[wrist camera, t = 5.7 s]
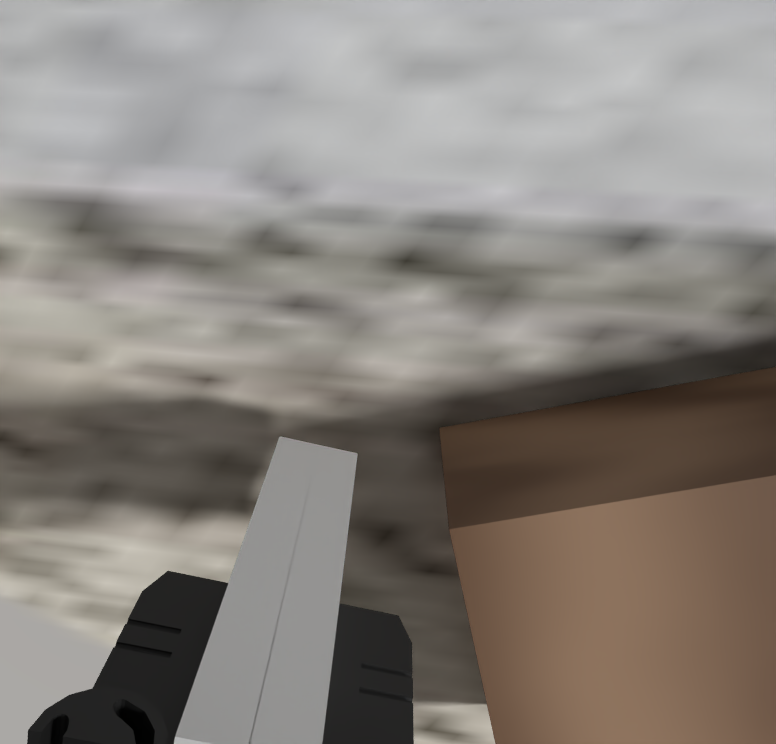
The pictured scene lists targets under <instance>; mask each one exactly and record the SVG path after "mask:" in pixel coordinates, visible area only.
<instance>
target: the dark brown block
mask: <svg viewBox="0 0 776 744" xmlns="http://www.w3.org/2000/svg"><path fill="white" fill-rule="evenodd" d="M439 431H440V442H441V452H442V462H443V472H444V483H445V493H446V503H447V513H448V523H449V531H450V536H451V541H452V545H453V550H454V554H455V559H456V564H457V568H458V573H459V577H460V582H461V587H462V591H463V596H464V601H465V605H466V610H467V614H468V619H469V624H470V628H471V633H472V637H473V642H474V647H475V651H476V656H477V660H478V665H479V670H480V674H481V679H482V683H483V688H484V693H485V697H486V702H487V706H488V711H489V716H490V720H491V725H492V730H493V734H494V739H495V743H496V744H776V367H772V368H766V369H761V370H755V371H750V372H744V373H739V374H733V375H728V376H722V377H717V378H711V379H705V380H700V381H694V382H689V383H683V384H678V385H672V386H667V387H661V388H656V389H650V390H645V391H639V392H634V393H628V394H623V395H617V396H612V397H606V398H601V399H595V400H590V401H584V402H579V403H573V404H568V405H562V406H557V407H551V408H546V409H540V410H535V411H529V412H524V413H518V414H513V415H507V416H502V417H496V418H491V419H485V420H480V421H474V422H469V423H463V424H457V425H452V426H446V427H441V428H439Z"/></svg>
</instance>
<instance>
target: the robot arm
mask: <svg viewBox="0 0 776 744" xmlns="http://www.w3.org/2000/svg"><path fill="white" fill-rule="evenodd" d="M357 455H358V453H354V452H349V451H345V450H340V449H336V448H331V447H327V446H322V445H317V444H313V443H308V442H304V441H299V440H295V439H290V438H286V437H281V436H280V437H279V439H278V442H277V445H276V448H275V451H274V454H273V457H272V460H271V462H270V465H269V468H268V471H267V474H266V477H265V480H264V483H263V485H262V488H261V491H260V494H259V497H258V500H257V503H256V505H255V508H254V511H253V514H252V517H251V520H250V523H249V526H248V528H247V531H246V534H245V537H244V540H243V543H242V546H241V549H240V551H239V554H238V557H237V560H236V563H235V566H234V569H233V572H232V574H231V577H230V580H229V583H225V582H220V581H215V580H210V579H205V578H200V577H195V576H191V575H186V574H181V573H176V572H171V571H167V572H166V573H165V574H164V575H162V576H161V577H160V578H158V579H157V580H156V581H155V582H153V583H152V584H151V585H150V586H148V587H147V588H146V589H145V590H143V591H142V593H141V595H140V597H139V599H138V601H137V603H136V605H135V607H134V609H133V610H132V612H131V614H130V616H129V618H128V622H127V624H125V626H124V628H123V630H122V632H121V634H120V636H119V638H118V640H117V642H116V646H115V648H113V650H112V652H111V654H110V655H109V657H108V659H107V661H106V663H105V666H104V667H103V669H102V671H101V673H100V675H99V677H98V679H97V681H96V683H95V685H94V687H93V689H89V690H86V691H82V692H78V693H75V694H71V695H69V696H67V697H65V698H64V699H62V700H60V701H59V702H57V703H55V704H54V705H53V706H51V707H49V708H47V709H46V710H45V711H44V712H43V713H42V714H41V716H40V717H39V718H38V719H37V720H36V721H35V723H34V724H33V725H32V726H31V727H30V729H29V730H28V743H27V744H414V741H413V703H412V698H413V678H412V642H411V640H410V638H409V636H408V634H407V632H406V630H405V628H404V626H403V624H402V622H401V620H400V618H399V616H398V615H393V614H388V613H383V612H378V611H373V610H368V609H363V608H358V607H353V606H349V605H344V604H339V603H340V594H341V586H342V578H343V570H344V562H345V553H346V545H347V537H348V529H349V521H350V513H351V504H352V496H353V488H354V480H355V472H356V463H357Z"/></svg>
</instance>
